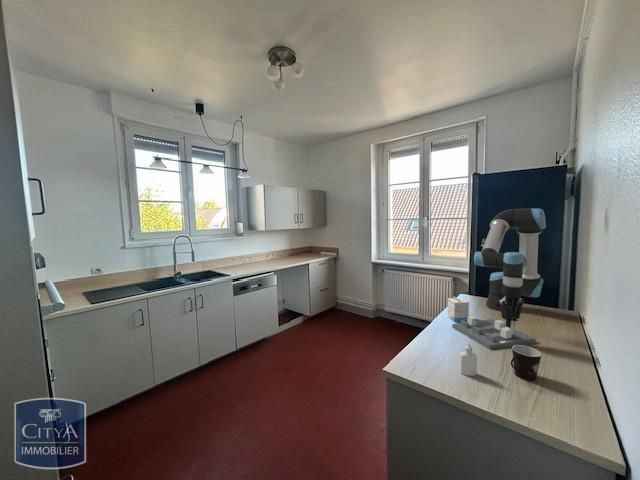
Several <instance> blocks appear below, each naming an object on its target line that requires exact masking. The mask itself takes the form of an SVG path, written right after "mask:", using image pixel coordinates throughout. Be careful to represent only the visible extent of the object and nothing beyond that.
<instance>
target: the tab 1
mask: <svg viewBox="0 0 640 480" xmlns="http://www.w3.org/2000/svg"><path fill="white" fill-rule="evenodd" d="M477 321H478V318H477V317H475V316H473V315H469V317H468V320H467V323H469V325H471V326H476V325H477Z"/></svg>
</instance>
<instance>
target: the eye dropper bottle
mask: <svg viewBox="0 0 640 480" xmlns="http://www.w3.org/2000/svg"><path fill="white" fill-rule="evenodd" d="M477 366H478V357H477V354H476V353H473V347H472V346H471V343H470V342H469V343H467V345H465V346H464V351H462V352H460V353H459V373H460V374H461V375H464V376H469V377H473V376H477V371H478V370H477V368H478V367H477Z"/></svg>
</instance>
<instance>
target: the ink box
mask: <svg viewBox="0 0 640 480" xmlns="http://www.w3.org/2000/svg"><path fill="white" fill-rule="evenodd" d="M469 304H470V303H469V301H467V300H466V299H464V298H462V297H456V296H454V295H452V297H451V298H450V297H449V298H448V297H447V318H448V319H449V320H450V321H452V322H453V323H461V320H463V321H465V322H467V320H468V317H469V316H470V315H469V313H470V311H469V310H470V309H469V308H470V305H469Z"/></svg>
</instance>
